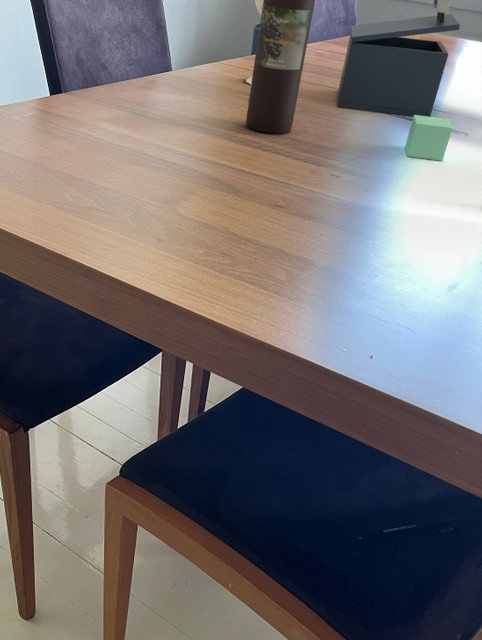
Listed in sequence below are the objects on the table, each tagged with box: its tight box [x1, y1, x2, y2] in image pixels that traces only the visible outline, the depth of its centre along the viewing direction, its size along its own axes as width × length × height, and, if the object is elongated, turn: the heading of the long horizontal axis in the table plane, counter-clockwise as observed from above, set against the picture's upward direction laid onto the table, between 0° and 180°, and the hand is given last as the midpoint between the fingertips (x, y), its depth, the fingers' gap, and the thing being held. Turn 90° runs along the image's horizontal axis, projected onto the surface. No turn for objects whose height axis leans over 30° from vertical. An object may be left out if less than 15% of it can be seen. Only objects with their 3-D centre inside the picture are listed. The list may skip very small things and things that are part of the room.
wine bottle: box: [245, 0, 316, 135], centre depth 102 cm, size 7×7×30 cm
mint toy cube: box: [404, 115, 453, 162], centre depth 105 cm, size 5×5×4 cm
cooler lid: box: [351, 0, 461, 42], centre depth 121 cm, size 16×13×5 cm
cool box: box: [336, 30, 449, 117], centre depth 127 cm, size 16×13×10 cm
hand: (439, 9), depth 120 cm, fingers closed on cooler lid, 5 cm apart
